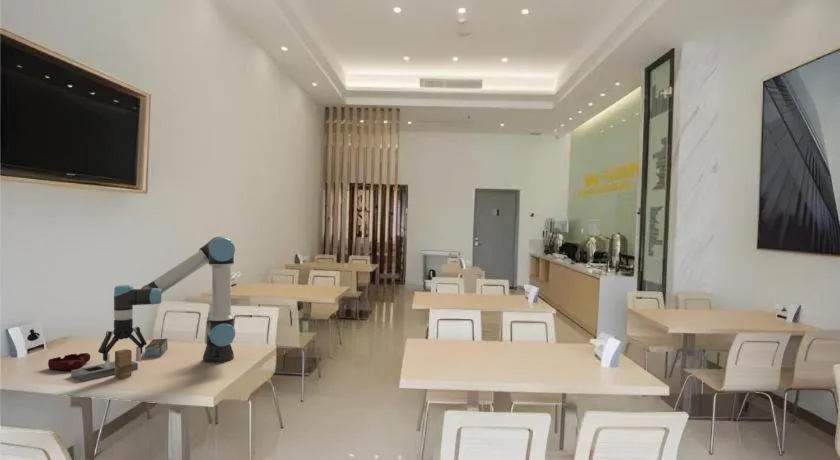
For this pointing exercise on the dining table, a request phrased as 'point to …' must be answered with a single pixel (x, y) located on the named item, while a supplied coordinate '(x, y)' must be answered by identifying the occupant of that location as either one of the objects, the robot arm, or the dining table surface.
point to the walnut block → (123, 363)
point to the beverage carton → (156, 348)
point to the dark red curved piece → (69, 362)
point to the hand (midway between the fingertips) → (123, 364)
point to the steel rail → (97, 371)
